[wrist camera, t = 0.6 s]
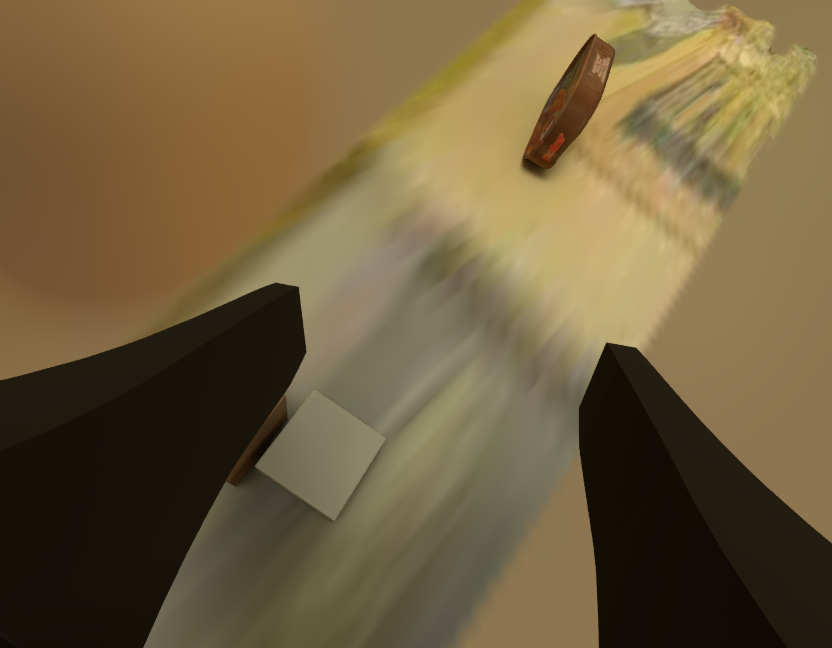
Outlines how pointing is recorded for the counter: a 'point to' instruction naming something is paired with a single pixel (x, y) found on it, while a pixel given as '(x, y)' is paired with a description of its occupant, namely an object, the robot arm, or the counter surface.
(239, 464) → the walnut block
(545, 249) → the counter surface
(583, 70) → the tin
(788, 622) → the robot arm
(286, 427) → the slate block
